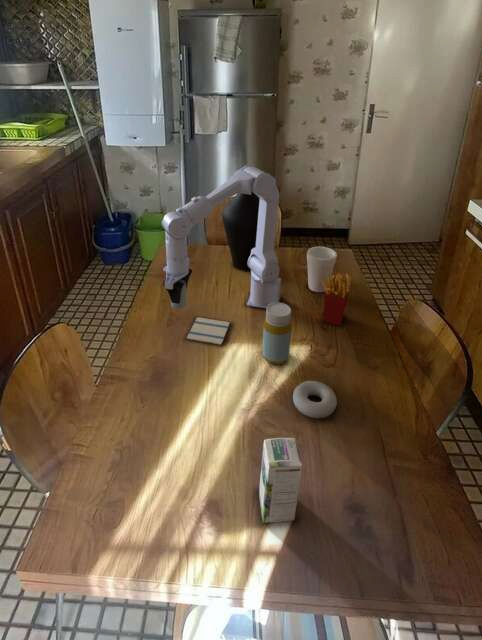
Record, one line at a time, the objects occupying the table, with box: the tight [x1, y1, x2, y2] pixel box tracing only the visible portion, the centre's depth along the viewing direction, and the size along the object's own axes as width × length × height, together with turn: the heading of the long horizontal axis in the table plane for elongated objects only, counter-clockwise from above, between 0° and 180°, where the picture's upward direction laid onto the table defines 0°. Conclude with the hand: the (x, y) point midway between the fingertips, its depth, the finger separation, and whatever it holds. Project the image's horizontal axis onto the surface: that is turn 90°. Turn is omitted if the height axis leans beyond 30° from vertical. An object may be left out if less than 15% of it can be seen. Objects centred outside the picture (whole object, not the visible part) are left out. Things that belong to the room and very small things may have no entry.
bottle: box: [261, 302, 292, 365], centre depth 112 cm, size 7×7×15 cm
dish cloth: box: [186, 316, 231, 346], centre depth 124 cm, size 10×10×1 cm
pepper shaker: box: [170, 278, 188, 310], centre depth 122 cm, size 4×4×8 cm
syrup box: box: [258, 437, 303, 524], centre depth 76 cm, size 6×6×14 cm
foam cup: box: [306, 246, 338, 293], centre depth 144 cm, size 10×9×13 cm
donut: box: [292, 380, 338, 419], centre depth 100 cm, size 10×4×10 cm
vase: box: [221, 191, 260, 271], centre depth 152 cm, size 17×17×35 cm
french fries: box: [321, 273, 352, 326], centre depth 128 cm, size 9×8×15 cm
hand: (178, 297), depth 123 cm, fingers closed on pepper shaker, 4 cm apart
